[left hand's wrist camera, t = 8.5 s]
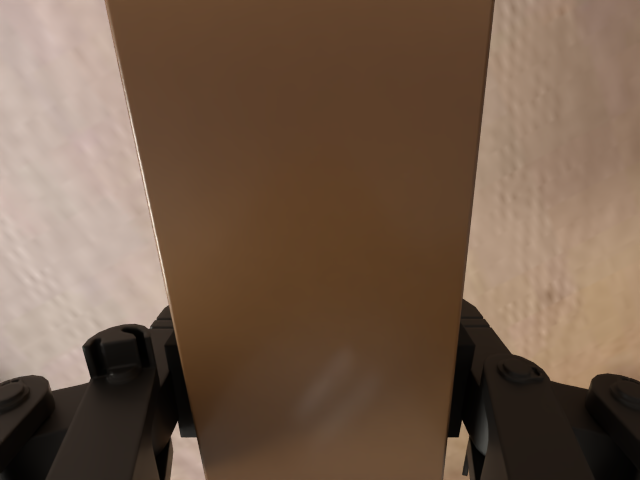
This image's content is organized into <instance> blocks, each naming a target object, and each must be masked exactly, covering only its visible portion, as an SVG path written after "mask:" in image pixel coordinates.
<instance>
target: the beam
mask: <svg viewBox="0 0 640 480" xmlns="http://www.w3.org/2000/svg"><path fill="white" fill-rule="evenodd" d="M494 3H495V0H105V4H106V9H107V14H108V19H109V23H110V28H111V33H112V38H113V42H114V47H115V52H116V56H117V61H118V66H119V71H120V75H121V80H122V85H123V90H124V94H125V99H126V104H127V109H128V113H129V118H130V123H131V128H132V132H133V137H134V142H135V146H136V151H137V156H138V161H139V165H140V170H141V175H142V180H143V184H144V189H145V194H146V199H147V203H148V208H149V213H150V218H151V222H152V227H153V232H154V237H155V241H156V246H157V251H158V255H159V260H160V265H161V270H162V274H163V279H164V284H165V289H166V293H167V298H168V303H169V308H170V312H171V317H172V322H173V327H174V331H175V336H176V341H177V345H178V350H179V355H180V360H181V364H182V369H183V374H184V379H185V383H186V388H187V393H188V398H189V402H190V407H191V412H192V417H193V421H194V426H195V431H196V436H197V440H198V445H199V450H200V454H201V459H202V464H203V469H204V473H205V478H206V480H443V475H444V466H445V456H446V447H447V438H448V429H449V419H450V410H451V401H452V392H453V382H454V373H455V364H456V355H457V345H458V336H459V327H460V317H461V308H462V299H463V290H464V280H465V271H466V262H467V253H468V243H469V234H470V225H471V216H472V206H473V197H474V188H475V179H476V169H477V160H478V151H479V142H480V132H481V123H482V114H483V105H484V95H485V86H486V77H487V68H488V58H489V49H490V40H491V31H492V21H493V12H494Z"/></svg>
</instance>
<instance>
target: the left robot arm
mask: <svg viewBox="0 0 640 480" xmlns="http://www.w3.org/2000/svg"><path fill="white" fill-rule="evenodd" d="M82 348H83V352H84V355H85V359H86V363H87V366H88V370H89V373H90V377H91V379H90V382H89V383H85V384H82V385H78V386H73V387H68V388H64V389H59V390H55V391H51V388H50V385H49V382H48V380H46V379H45V378H44V377H43V376H35V375H30V376H23V377H18V378H14V379H11V380H7V381H5V382H2V383H1V384H0V480H170V476H171V467H172V459H173V446H172V441H171V435H172V432H173V430H174V428H175V426H176V424H177V421H178V424H179V429H180V435H181V437H197V436H196V431H195V426H194V421H193V417H192V412H191V407H190V402H189V398H188V393H187V388H186V383H185V379H184V374H183V369H182V364H181V360H180V355H179V350H178V345H177V341H176V336H175V331H174V327H173V322H172V317H171V312H170V308H169V305H168V306H167V307H165V308H164V309H163V311H162V312H161V313H160V315H159V316H158V317H157V320H155V321H154V322H153V324H152V325H151V326H150V329H147V328H146V327H145V326H142V325H137V324H125V325H120V326H115V327H111V328H109V329H106V330H104V331H101V332H99V333H97V334H96V335H94V336H93V337H91V338H90V339H88V341H87V342H86V343H85V344H84V345H83V346H82ZM462 420H463V423H464V425H465V427H466V429H467V431H468V434H469V441H468V446H467V451H466V456H465V461H464V466H463V473H462V475H465V476H467V475H468V470H469V475H470V480H640V382H639V381H637V380H635V379H632V378H628V377H625V376H622V375H615V374H608V373H607V374H600V375H597V376H595V377H594V378H593V379H592V381H591V384H590V387H589V390H588V389H584V388H579V387H574V386H570V385H565V384H560V383H556V382H553V381H550V379H549V377H548V376H547V374H546V373H545V372H544V370H543V369H541V368H540V367H539V366H538V365H536V364H535V363H534V362H531V361H529V360H527V359H525V358H523V357H520V356H517V355H513V354H511V353H510V351H509V350H508V349H507V347H506V346H505V345H504V343H503V342H502V341H501V340H500V338H499V337H498V336H497V334H496V333H495V332H494V330H493V329H492V328H490V325H489V324H488V323H487V321H486V320H485V319H483V316H482V315H481V314H480V312H479V311H478V310H477V308H476V307H475V306H473V305H472V304H470V303H469V302H467V301H466V300H464V299H462V308H461V317H460V327H459V336H458V345H457V355H456V364H455V373H454V382H453V392H452V401H451V410H450V419H449V429H448V437H459V433H460V428H461V422H462Z"/></svg>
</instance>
